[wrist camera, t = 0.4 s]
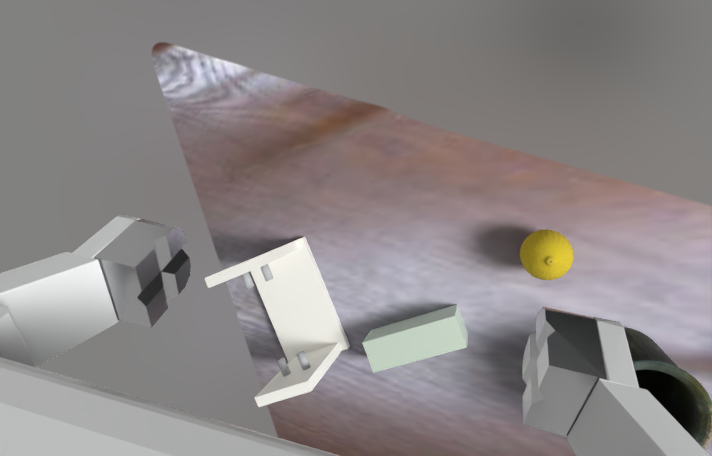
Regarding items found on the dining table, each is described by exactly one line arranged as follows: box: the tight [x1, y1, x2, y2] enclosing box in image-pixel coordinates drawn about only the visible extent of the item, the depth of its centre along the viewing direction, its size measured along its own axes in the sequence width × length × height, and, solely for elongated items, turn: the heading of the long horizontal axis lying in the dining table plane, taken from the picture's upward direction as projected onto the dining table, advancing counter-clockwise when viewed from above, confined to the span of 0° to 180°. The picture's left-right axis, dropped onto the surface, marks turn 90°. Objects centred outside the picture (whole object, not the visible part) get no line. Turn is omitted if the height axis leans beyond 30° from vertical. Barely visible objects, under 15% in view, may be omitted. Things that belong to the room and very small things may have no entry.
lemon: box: [520, 230, 573, 280], centre depth 55 cm, size 6×6×8 cm
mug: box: [624, 327, 712, 450], centre depth 53 cm, size 11×15×12 cm
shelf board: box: [362, 305, 468, 373], centre depth 62 cm, size 12×4×5 cm, turn 111°
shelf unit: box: [205, 237, 350, 407], centre depth 61 cm, size 16×9×13 cm, turn 23°
